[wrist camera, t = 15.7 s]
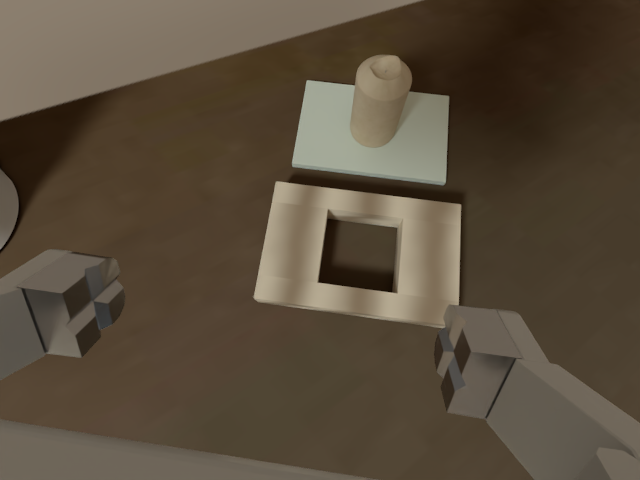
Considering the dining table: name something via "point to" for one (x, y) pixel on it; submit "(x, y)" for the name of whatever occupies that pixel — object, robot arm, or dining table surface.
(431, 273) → the socket block
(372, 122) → the candle
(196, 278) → the dining table surface
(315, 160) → the sage mat
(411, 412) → the dining table surface
